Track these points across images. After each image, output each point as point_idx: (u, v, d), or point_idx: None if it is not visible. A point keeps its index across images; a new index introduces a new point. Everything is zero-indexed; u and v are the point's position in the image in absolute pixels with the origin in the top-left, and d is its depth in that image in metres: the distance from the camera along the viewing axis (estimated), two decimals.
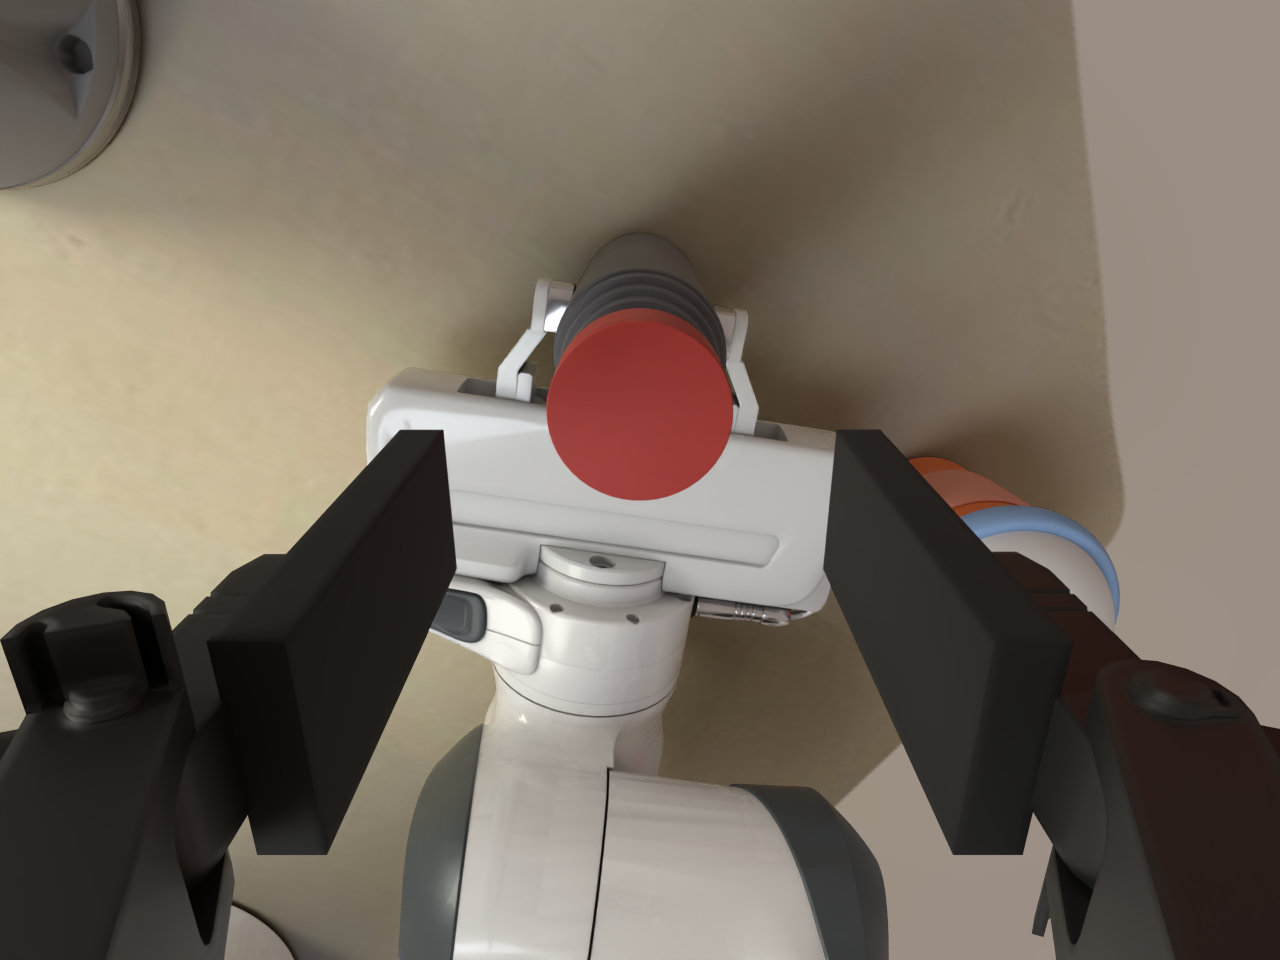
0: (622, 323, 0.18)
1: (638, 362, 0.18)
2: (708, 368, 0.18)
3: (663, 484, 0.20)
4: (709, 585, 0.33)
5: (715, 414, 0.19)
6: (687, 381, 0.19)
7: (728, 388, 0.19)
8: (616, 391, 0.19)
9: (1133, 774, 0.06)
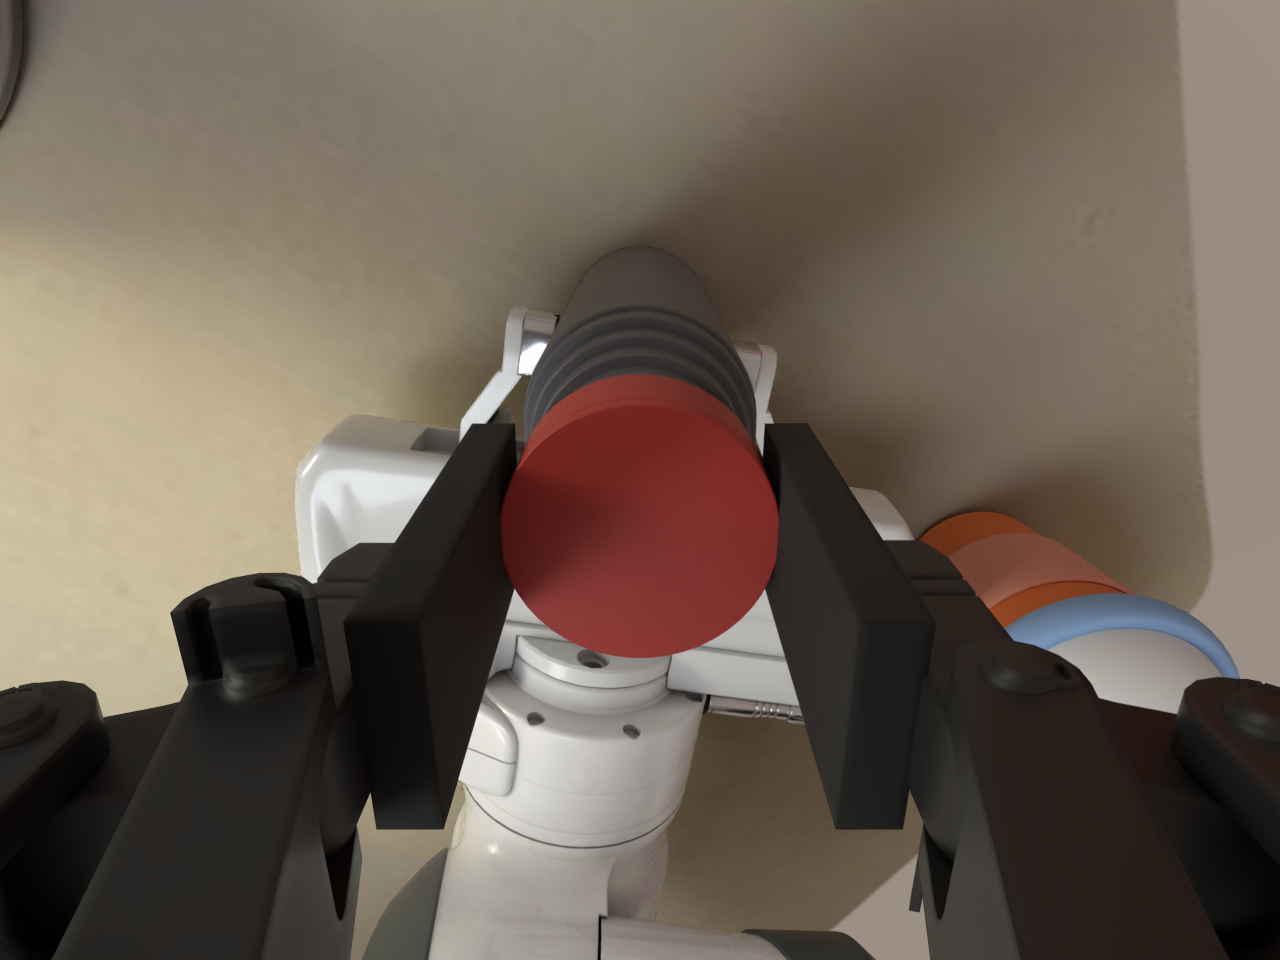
0: (612, 407, 0.12)
1: (637, 464, 0.12)
2: (744, 473, 0.12)
3: (675, 635, 0.13)
4: (725, 683, 0.27)
5: (753, 538, 0.13)
6: (712, 491, 0.12)
7: (774, 502, 0.12)
8: (604, 506, 0.12)
9: (982, 751, 0.06)
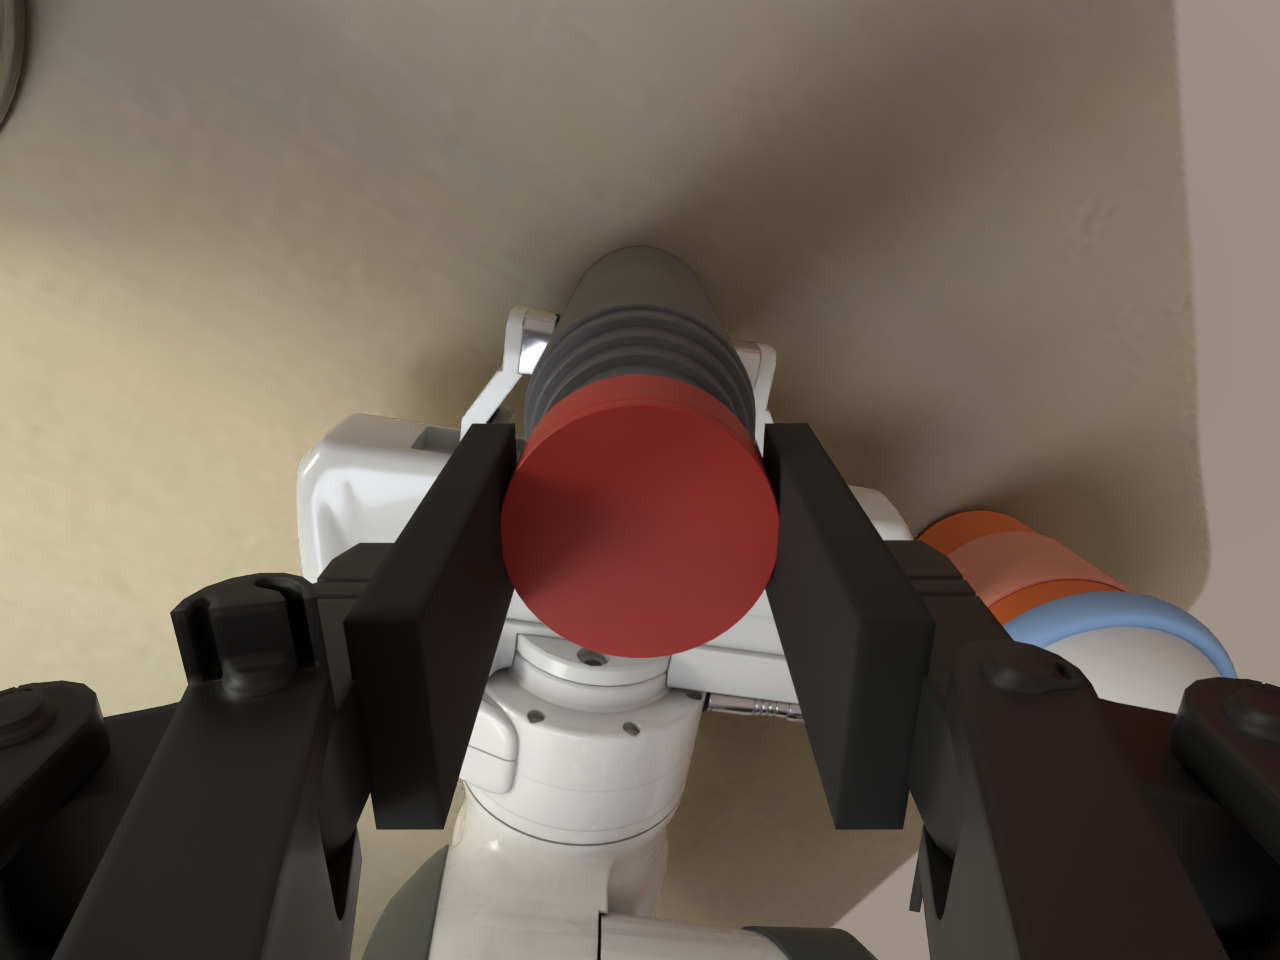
0: (565, 637, 0.13)
1: (586, 591, 0.13)
2: (516, 522, 0.12)
3: (694, 439, 0.12)
4: (725, 681, 0.27)
5: (554, 466, 0.12)
6: (552, 529, 0.12)
7: (512, 483, 0.12)
8: (638, 584, 0.13)
9: (982, 752, 0.06)
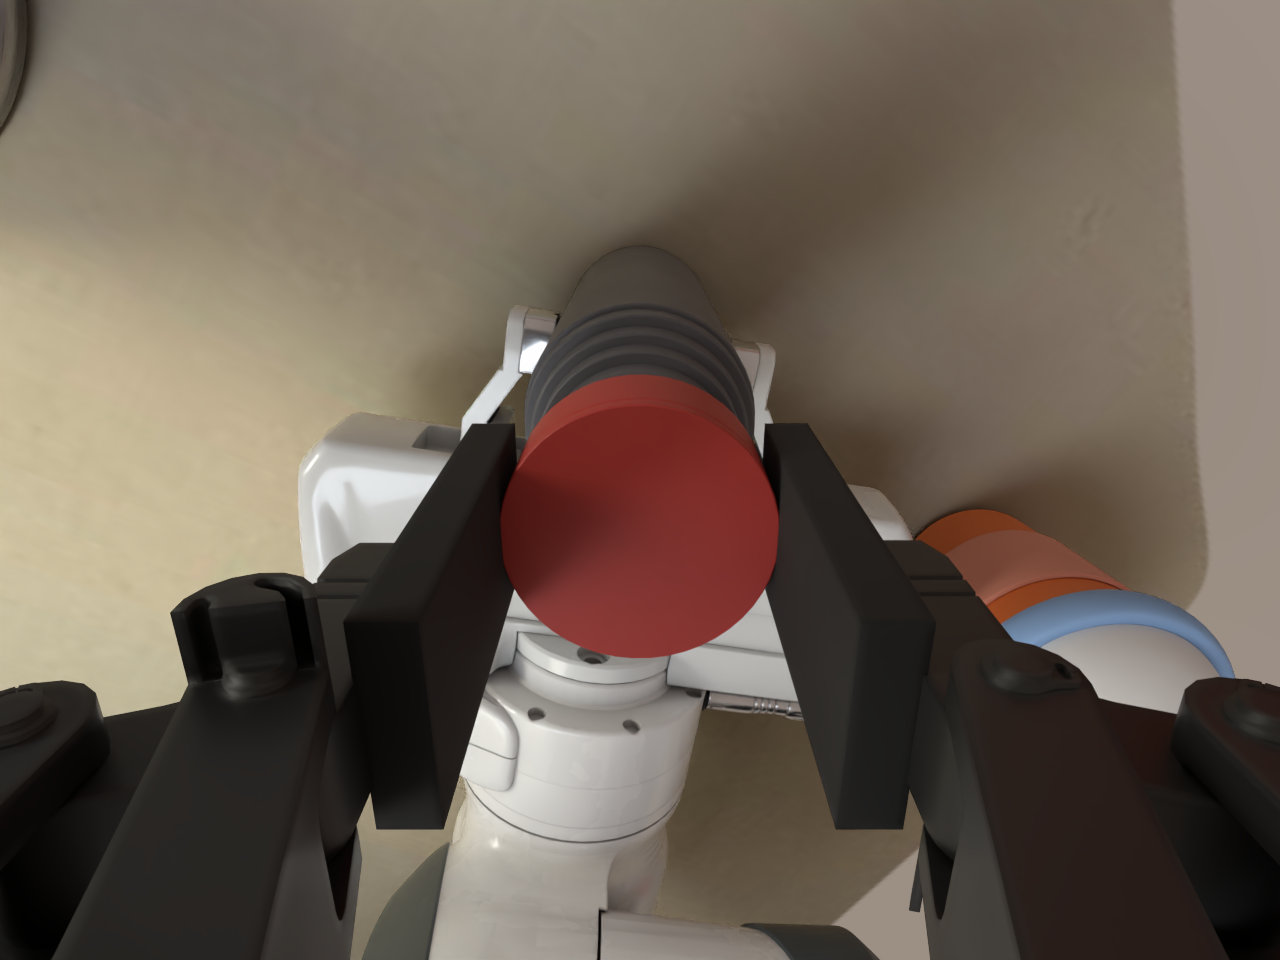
0: (777, 513, 0.12)
1: (720, 536, 0.13)
2: (710, 626, 0.13)
3: (529, 574, 0.13)
4: (724, 679, 0.27)
5: (642, 637, 0.13)
6: (691, 600, 0.13)
7: (681, 651, 0.13)
8: (676, 507, 0.12)
9: (982, 751, 0.06)
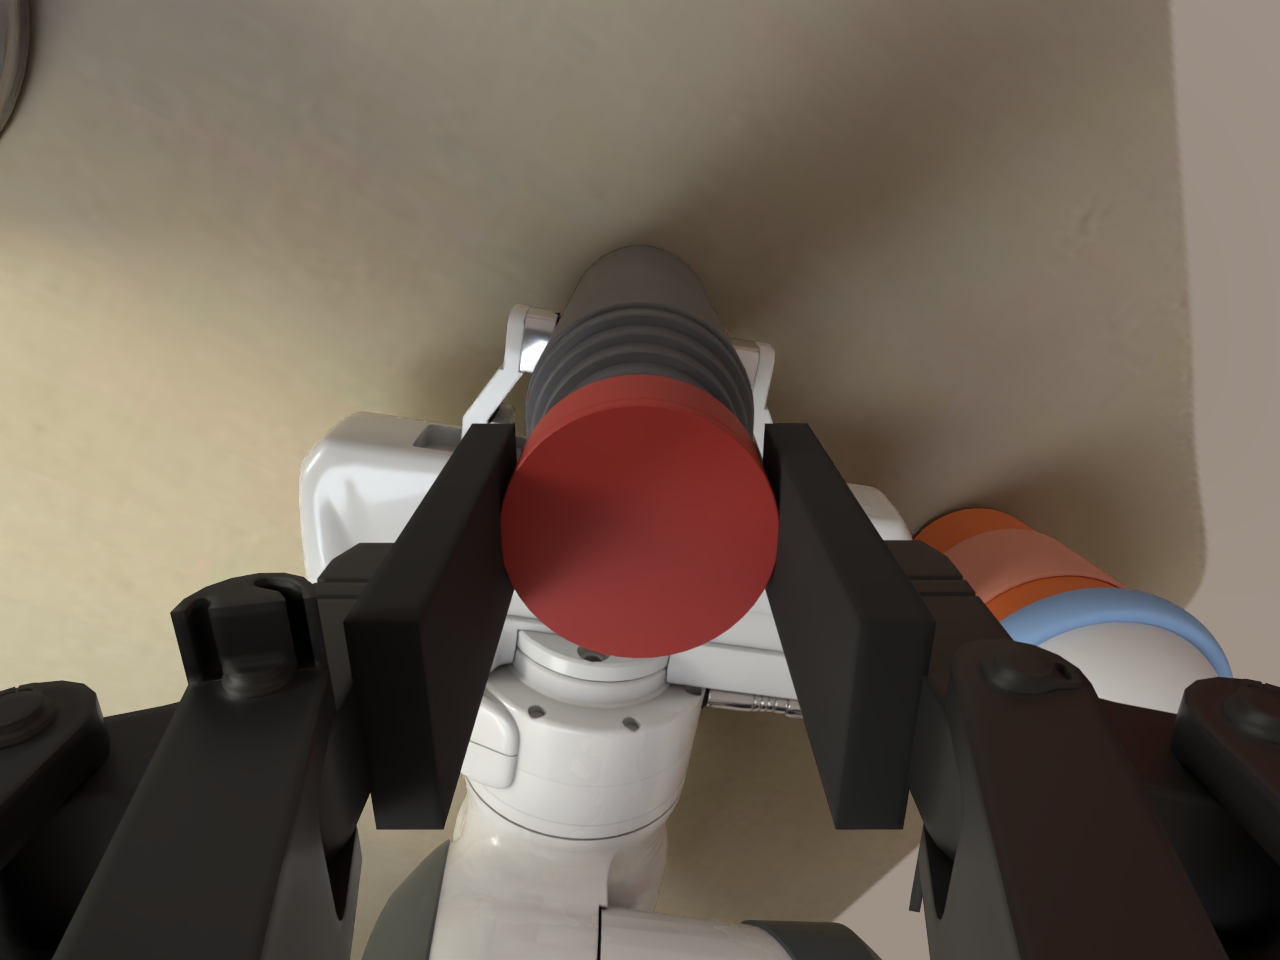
0: (518, 467, 0.12)
1: (577, 490, 0.12)
2: (657, 422, 0.12)
3: (744, 584, 0.13)
4: (724, 676, 0.27)
5: (719, 461, 0.12)
6: (650, 458, 0.12)
7: (703, 421, 0.12)
8: (588, 539, 0.13)
9: (982, 752, 0.06)
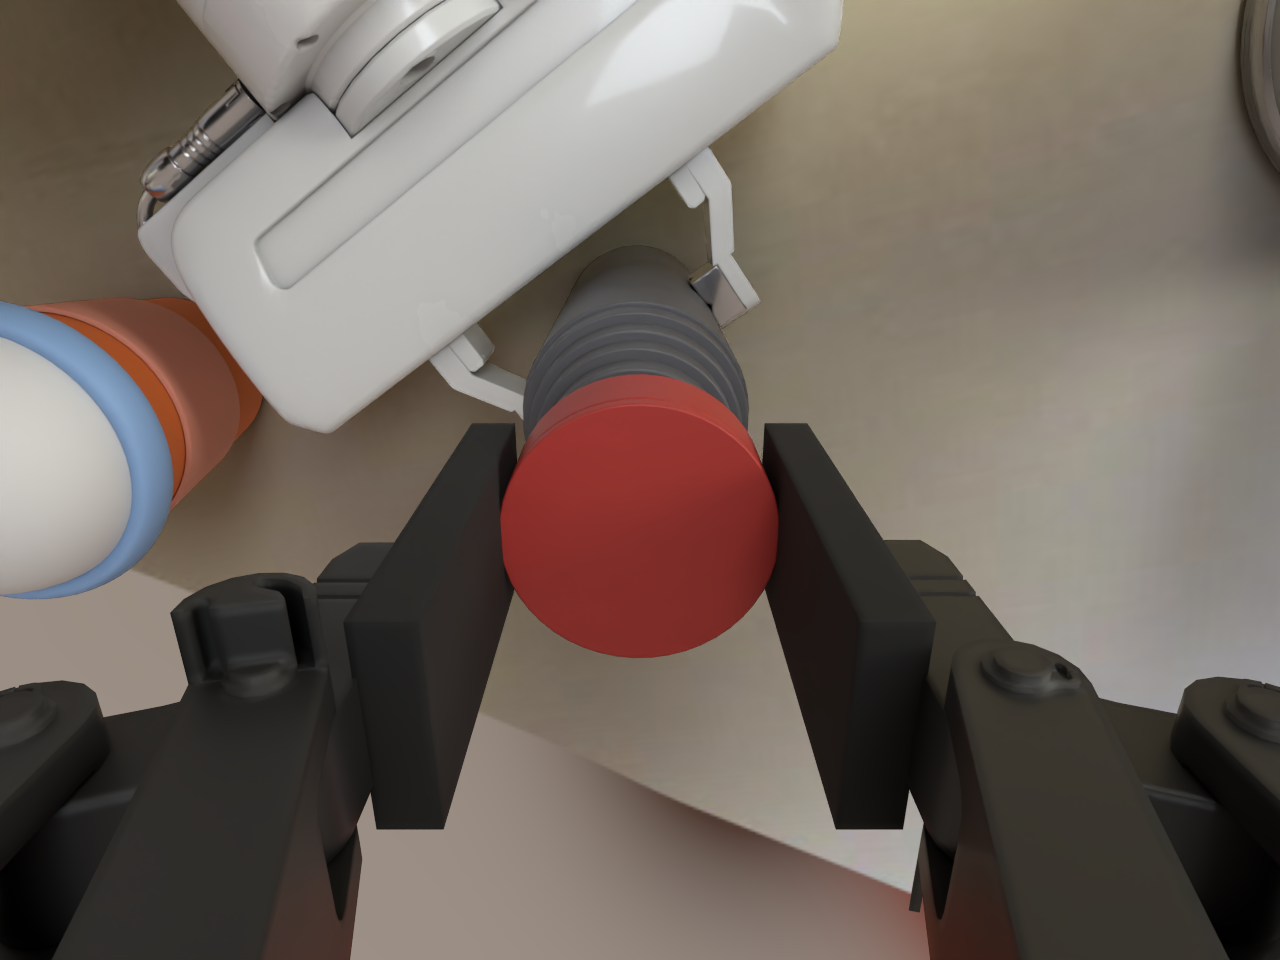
0: (518, 467, 0.12)
1: (577, 489, 0.12)
2: (657, 422, 0.12)
3: (743, 583, 0.13)
4: (276, 158, 0.21)
5: (719, 461, 0.12)
6: (650, 458, 0.12)
7: (703, 421, 0.12)
8: (588, 539, 0.13)
9: (982, 752, 0.06)
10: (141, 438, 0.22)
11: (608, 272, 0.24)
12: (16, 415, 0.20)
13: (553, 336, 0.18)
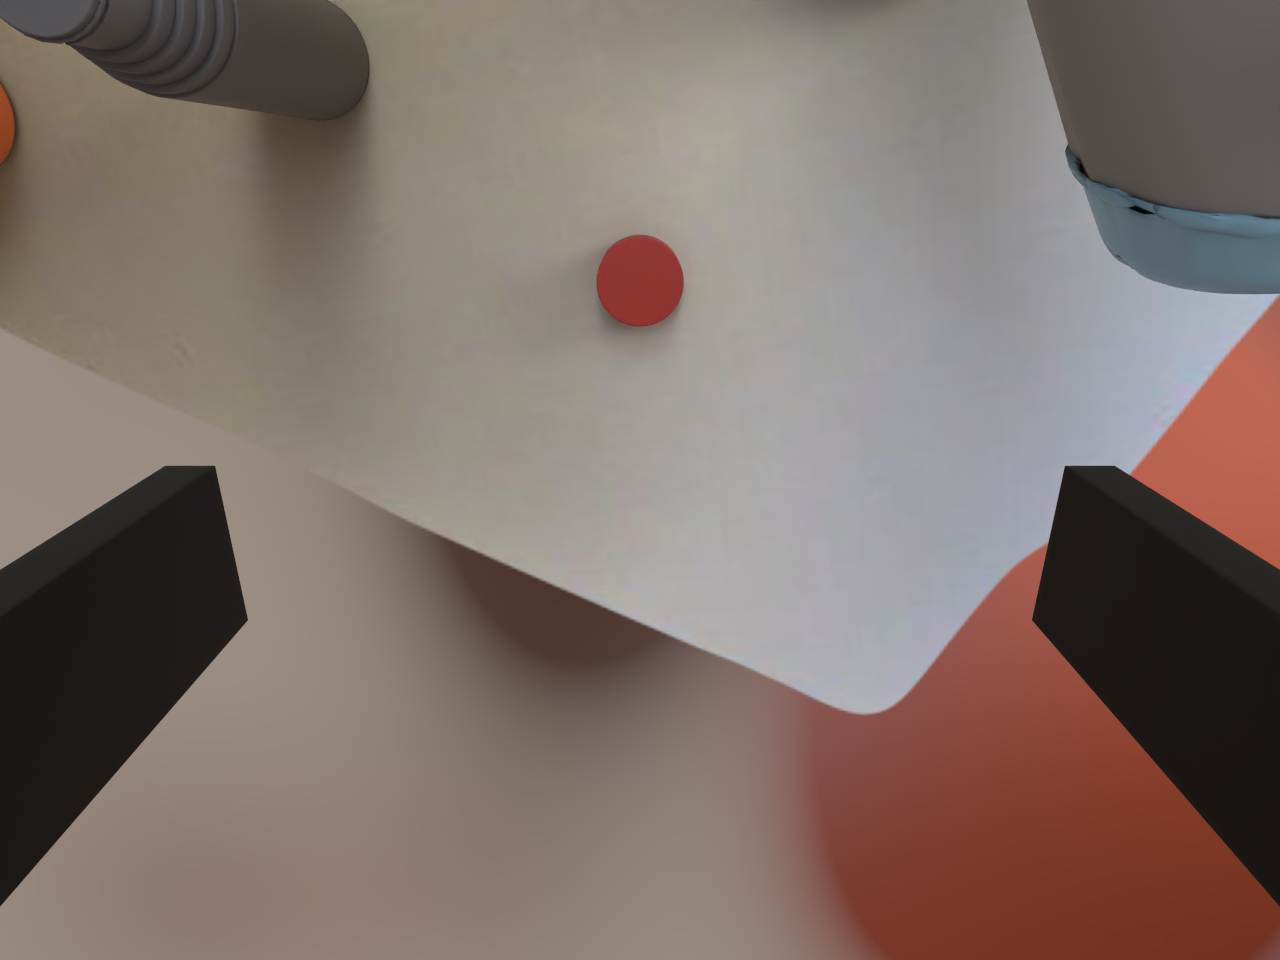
0: (603, 258, 0.40)
1: (621, 265, 0.40)
2: (645, 243, 0.40)
3: (672, 298, 0.41)
4: None
5: (664, 256, 0.40)
6: (643, 255, 0.40)
7: (658, 243, 0.40)
8: (624, 282, 0.41)
9: None
10: None
11: None
12: None
13: None
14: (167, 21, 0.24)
